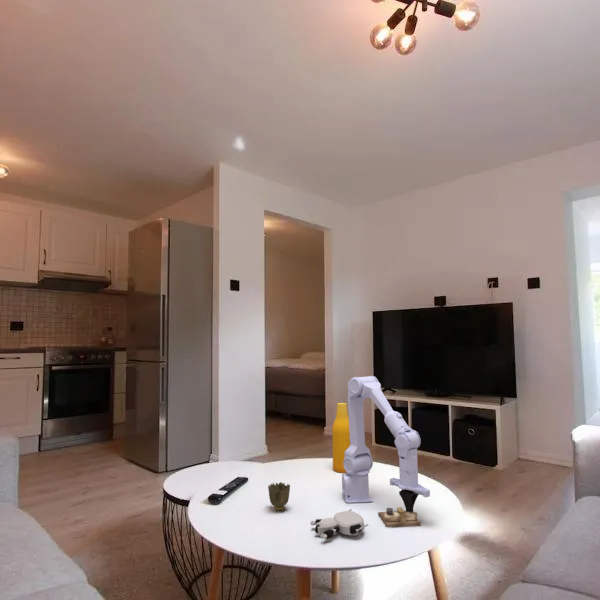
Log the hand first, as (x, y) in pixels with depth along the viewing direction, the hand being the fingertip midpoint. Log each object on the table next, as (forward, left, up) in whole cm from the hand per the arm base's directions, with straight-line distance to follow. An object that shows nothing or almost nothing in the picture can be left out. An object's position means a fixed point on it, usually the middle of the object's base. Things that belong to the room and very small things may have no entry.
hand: (409, 514), depth 135 cm
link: (-4, -2, 0) cm, 4 cm away
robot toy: (-24, -7, -2) cm, 25 cm away
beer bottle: (-11, +55, -2) cm, 56 cm away
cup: (-41, +13, -2) cm, 43 cm away
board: (-4, 0, -2) cm, 4 cm away
